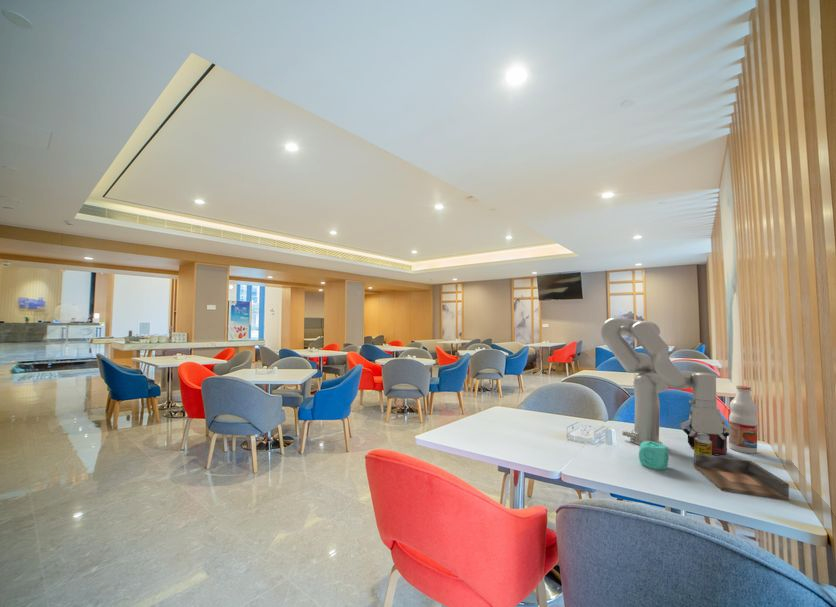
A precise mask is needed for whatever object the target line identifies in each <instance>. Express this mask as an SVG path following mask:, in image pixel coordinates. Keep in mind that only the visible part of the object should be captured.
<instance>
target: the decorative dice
mask: <svg viewBox="0 0 836 607" xmlns="http://www.w3.org/2000/svg"><path fill="white" fill-rule="evenodd" d="M638 459H639V460H638V461H639V463H640V464H641V465H642V466H644V467H645V468H649V469H651V470H655V471H656V470H657V471H665V470H666V469H667V468H668V465H669V449H668V447H667V446H666V445H664V443H663V444H660V443H656V442H651V441H644V442H642V443H641V445H639V449H638Z"/></svg>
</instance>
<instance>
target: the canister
mask: <svg viewBox="0 0 836 607" xmlns="http://www.w3.org/2000/svg"><path fill="white" fill-rule="evenodd" d="M721 418H722V424H724V425H726V426H728V425H727V424H726V423H725V422H726V419H725V418H723V417H721ZM724 431H725V428H723V432H724ZM703 434H704V433H703ZM707 435H709V438H710V439H709V440H710V441H711V442H712V454H714V455H713V456H725V455H727V453H728V447H727V446H728V436H727V437H726V438H725V439H724V447H723V450H721V449H719V448H718V447H717V437H718V436H717V435H716V434H707ZM693 437H694V439H695V438H697V432H696V433H695V434H694V435H693ZM689 447H690V448H691V449H692V450H694V447H692V446H690V445H689Z"/></svg>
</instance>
